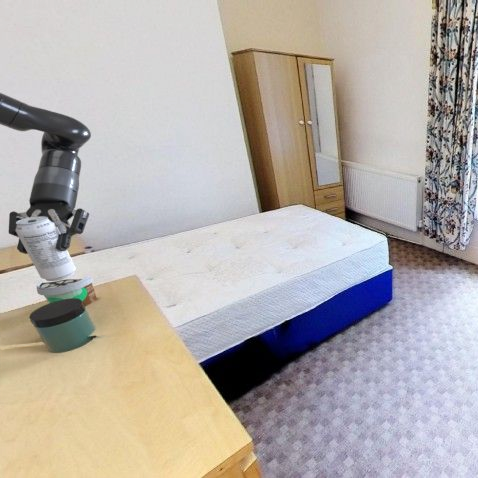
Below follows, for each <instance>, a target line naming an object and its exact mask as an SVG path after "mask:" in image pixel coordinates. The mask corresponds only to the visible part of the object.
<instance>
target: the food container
mask: <svg viewBox="0 0 478 478" xmlns="http://www.w3.org/2000/svg"><path fill="white" fill-rule="evenodd" d="M94 282H95V280H94V279H93V278H92V276H90V275H87V276H86V277H84V278H79V279H75V278H74V279H70V278H65V279H62V280H58V281H47V282H43V281H42V279H40V280H39V281H38V282H37V283H36V293H37V294H38V295H40V296H43V297H44V298H45V300H47V302H48V304H49V303H52V302H55V301H59V300H64V299H71V298H77V299H80V300H82V302H83V303H84V305H85V307H86V306H89V305H91V304H92V303H94V302H96V301H97V300H98V297H97V295H96V291H95V288H94V285H93V283H94Z"/></svg>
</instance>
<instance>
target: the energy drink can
mask: <svg viewBox="0 0 478 478" xmlns="http://www.w3.org/2000/svg"><path fill="white" fill-rule="evenodd" d="M16 224H17V227H16V232H17V234H18V236H19V237H18V239H19V238H20V240H21V242H22V244H23V245H24V247H25V249H26V251H27V253H28V254H27V255H28V257H29V258H30V260H31V262H32V264H33V266H34V268H35V270H36V271H37V273H38V275H39V277H40V278H41V280H42V279H43V280H45V281H47V282H55V281H60V280H66V279H69V278H70V277H72V276H73V275H74V274H75V272H76V270H77V267H76V265H75V264H74V260H73V259H72V257H71V255H70V253H69V251H68V249H67V250H66V251H60V250H57V249H56V244H57V240H58V234H60V231H59V229H58V227H56V226H55V224H54V223H53V222H52V221H50V220H49V219H48V217H45V216H39V217H31V218H29V217H28V218H26V219H22V220H19V221H17V222H16Z"/></svg>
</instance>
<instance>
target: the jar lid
mask: <svg viewBox="0 0 478 478" xmlns="http://www.w3.org/2000/svg"><path fill="white" fill-rule="evenodd" d="M85 308H86V306H85V305H84V303H83V302H82V300H80V299H77V298H71V299H64V300H59V301H55V302H52V303H49V302H48V303H46V304H45V305H42V306H40V307H38V308H36V309H35V310H34V311H32V312H31V313H30V314H29V316H28V317H29V321H30V322H31V324H32V325H33V327H34V326H37V327H47V326H53V325H57V324H60V323H63V322H66V321H68V320H71V319H73V318H75V317H77V316H78V315H80V314H81V313H82V312H83V311H84V310H85Z"/></svg>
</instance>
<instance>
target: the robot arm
mask: <svg viewBox="0 0 478 478" xmlns="http://www.w3.org/2000/svg"><path fill="white" fill-rule="evenodd" d="M0 125H1V126H4V127H6V128H9V129H12V130H14V131H17V132H28V131H33V130H34V131H35V130H36V131H39V132H43V134H42V137H41V143H40V145H41V148H40V149H41V157H40V160H39V164H38V169H37V172H36V173H35V175H34V178H33V183H32V187H31V191H30V196H29V200H28V202H29V208H28V209H27V210H26V211H24V212H17V211H15V210H13V211H11V212H10V213H9V215H8V216H9V217H8V219H9V220H8V234H9V235H10V236H14V237H16V238H18V242H17V246H16V249H17V251H18V252H19V253H22V254H24V255H28V253H27V251H26V249H25V247H24V245H23V244H22V242H21V240H20V238H19V236H18V234H17V232H16V227H17V224H16V222H17V221H19V220H22V219H26V218H31V217H39V216H45V217H48V219H49V220H50V221H52V222H53V223H54V224H55V226H56V228H57V230H58V232H59V234H58V240H57V244H56V249H57V250H60V251H66V250H67V251H68V249H69V248H70V246H71V241H72V237H74V236H75V235H82V234H83V233H84V230H85V228H86V226H87V223H88V219H89V217H90V213H89V212H87V211H86V210H85V209H83V208H81V207H80V208H76V204H77V200H78V194H79V188H80V175H81V170H82V160H81V158H80V157H79V151H80V149H81V148H82V147H83V146H84V145H85V144H87V142H89V141H90V139H91V137H92V132H91V130H90V129H89V127H88V126H86V125H85V124H84V123H82V122H81V121H80V120H78V119H76V118H74V117H72V116H69V115H66V114H63V113H59V112H56V111H52V110H48V109H45V108H41V107H37V106H33V105H31V104H28V103H26V102H23V101H21V100H18V99H17V98H14V97H12V96H9V95H7V94H5V93H2V92H0ZM75 208H76V209H75ZM71 218H73V219H72V221H71V224H70V222H69V220H70V219H71Z"/></svg>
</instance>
